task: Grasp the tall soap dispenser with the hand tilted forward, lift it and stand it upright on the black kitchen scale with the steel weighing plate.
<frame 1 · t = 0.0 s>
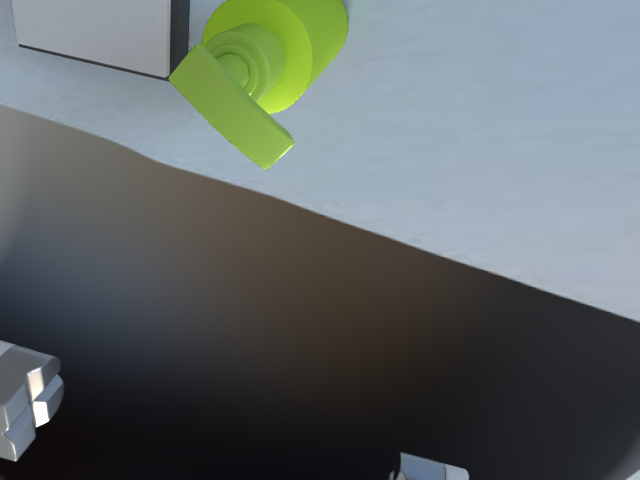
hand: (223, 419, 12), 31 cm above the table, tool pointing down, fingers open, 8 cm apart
soap dispenser: (313, 30, 37), on the table
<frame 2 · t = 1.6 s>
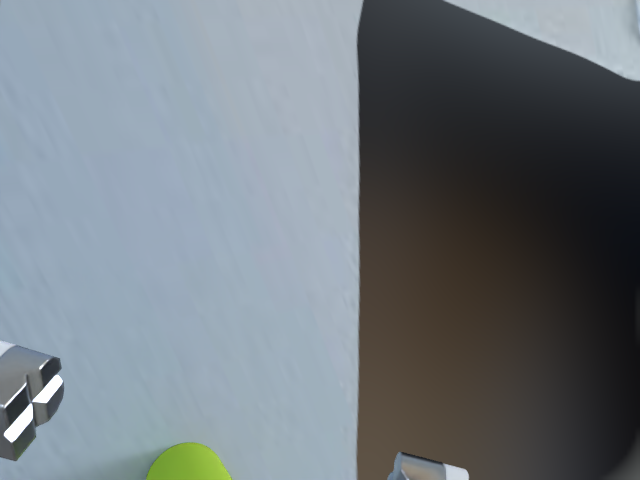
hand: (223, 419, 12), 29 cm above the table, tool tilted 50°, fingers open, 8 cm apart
soap dispenser: (188, 475, 39), on the table
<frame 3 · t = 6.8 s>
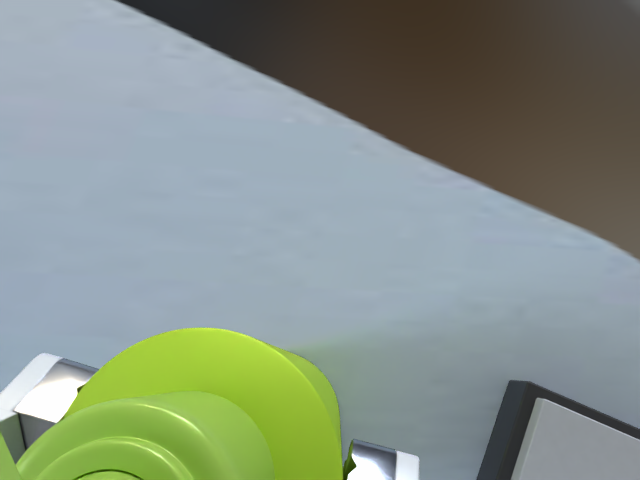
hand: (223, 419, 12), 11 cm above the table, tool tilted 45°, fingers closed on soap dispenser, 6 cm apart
soap dispenser: (268, 408, 23), on the table, touching gripper
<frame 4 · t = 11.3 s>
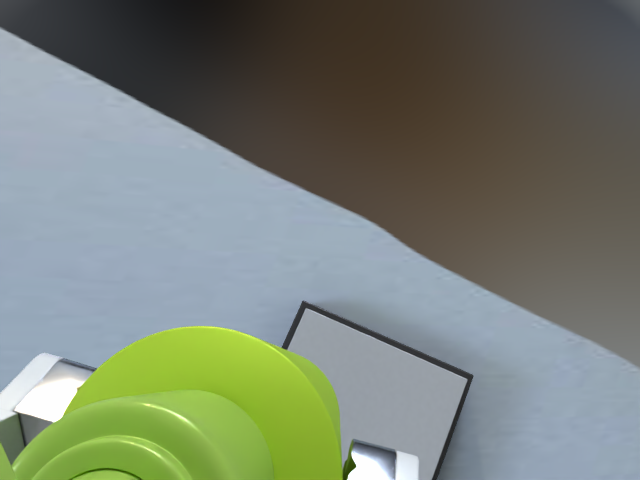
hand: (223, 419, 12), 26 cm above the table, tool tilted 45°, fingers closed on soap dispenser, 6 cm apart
soap dispenser: (268, 407, 23), point 15 cm above the table, touching gripper
kitchen scale: (349, 422, 36), on the table
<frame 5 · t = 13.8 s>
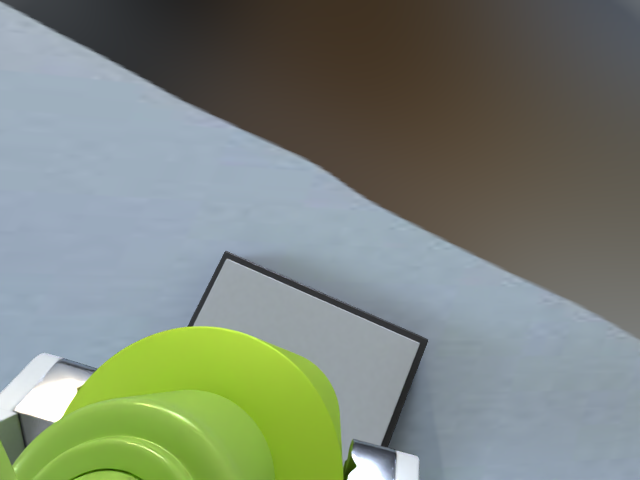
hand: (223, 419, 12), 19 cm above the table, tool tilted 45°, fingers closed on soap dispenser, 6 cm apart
soap dispenser: (268, 407, 23), point 8 cm above the table, touching gripper
kitchen scale: (280, 398, 30), on the table
when the fingers open (14 cm above the table, at t = 15.8 s): soap dispenser stays where it is, resting on kitchen scale.
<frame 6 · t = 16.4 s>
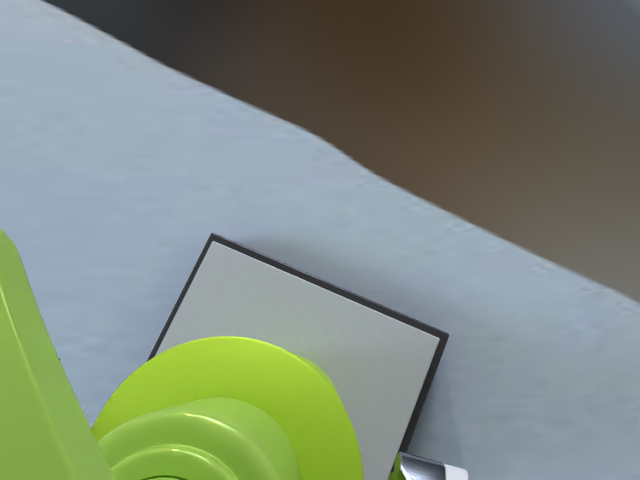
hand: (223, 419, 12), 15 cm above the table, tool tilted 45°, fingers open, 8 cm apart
soap dispenser: (272, 408, 23), point 3 cm above the table, touching kitchen scale
kitchen scale: (277, 403, 26), on the table
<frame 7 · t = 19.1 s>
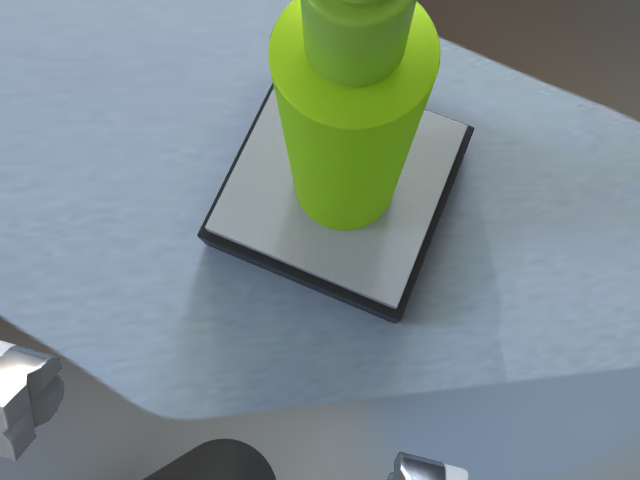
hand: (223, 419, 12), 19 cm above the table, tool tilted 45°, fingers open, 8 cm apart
soap dispenser: (339, 177, 30), point 3 cm above the table, touching kitchen scale
kitchen scale: (338, 192, 33), on the table
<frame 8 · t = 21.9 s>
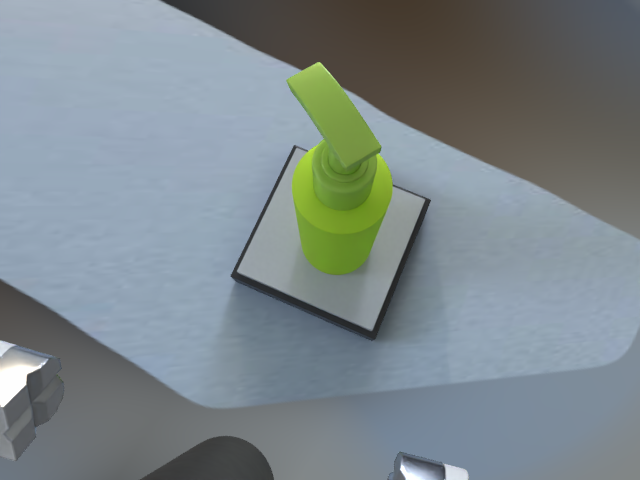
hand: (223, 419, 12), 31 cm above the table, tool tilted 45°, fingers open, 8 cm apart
soap dispenser: (333, 235, 42), point 3 cm above the table, touching kitchen scale
kitchen scale: (332, 243, 45), on the table
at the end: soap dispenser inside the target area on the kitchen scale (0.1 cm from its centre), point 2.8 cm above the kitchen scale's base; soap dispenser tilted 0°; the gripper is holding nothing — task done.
